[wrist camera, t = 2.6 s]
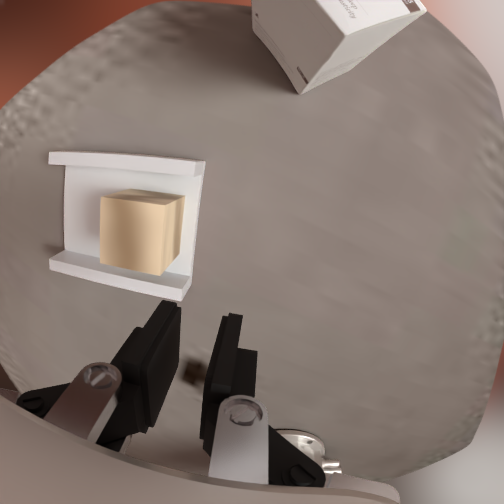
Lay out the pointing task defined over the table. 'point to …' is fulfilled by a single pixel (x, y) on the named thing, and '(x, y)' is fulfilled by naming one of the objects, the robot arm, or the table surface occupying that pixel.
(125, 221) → the birch block
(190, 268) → the u-shaped channel
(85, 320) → the table surface
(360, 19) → the skincare box
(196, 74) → the table surface
